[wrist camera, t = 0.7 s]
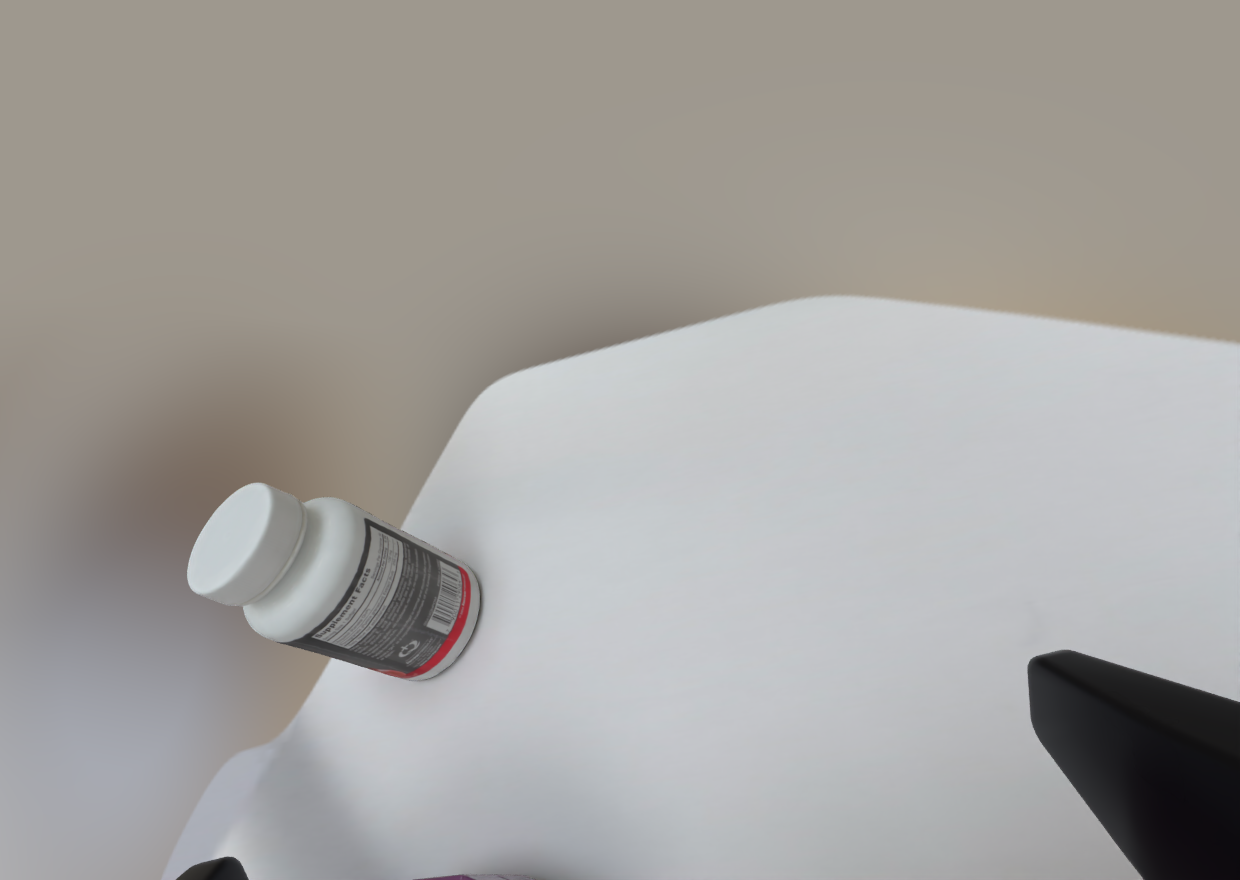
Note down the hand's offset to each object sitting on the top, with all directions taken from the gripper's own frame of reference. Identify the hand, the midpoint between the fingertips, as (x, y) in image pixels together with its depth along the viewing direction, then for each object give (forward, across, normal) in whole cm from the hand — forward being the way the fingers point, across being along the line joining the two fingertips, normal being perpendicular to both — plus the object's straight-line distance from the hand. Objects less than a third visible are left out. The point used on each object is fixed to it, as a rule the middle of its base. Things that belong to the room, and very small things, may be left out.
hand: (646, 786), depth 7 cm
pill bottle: (+20, +8, +7) cm, 23 cm away
